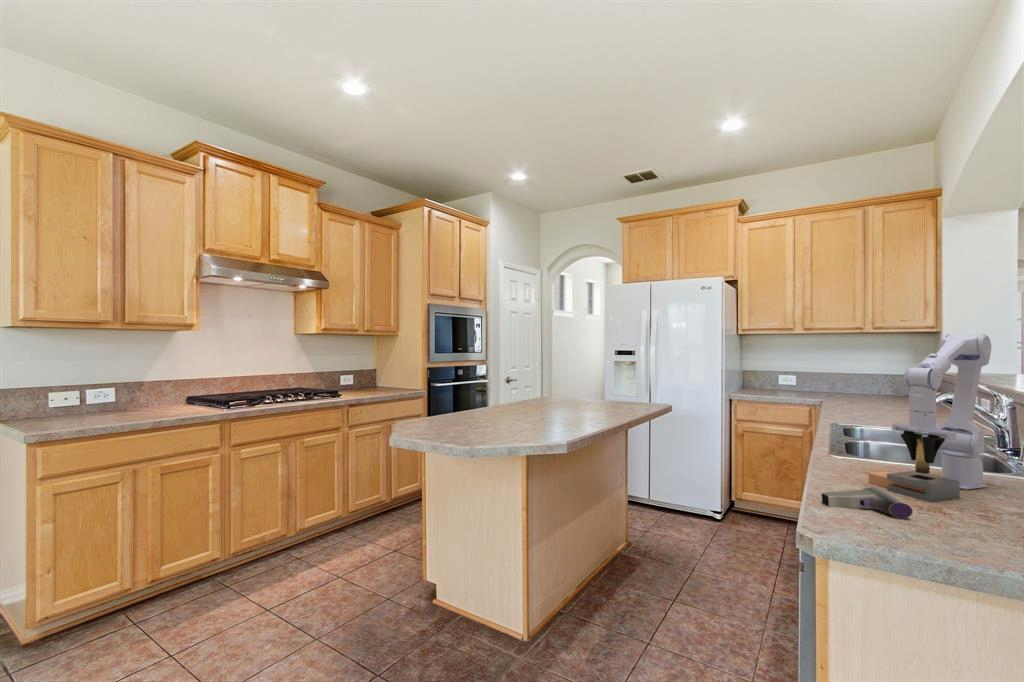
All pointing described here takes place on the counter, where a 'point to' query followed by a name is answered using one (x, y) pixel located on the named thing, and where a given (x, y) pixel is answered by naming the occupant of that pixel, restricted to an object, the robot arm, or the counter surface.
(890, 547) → the counter surface
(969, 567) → the counter surface
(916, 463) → the brass pin
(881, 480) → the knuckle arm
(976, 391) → the robot arm
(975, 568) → the counter surface
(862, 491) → the infrared thermometer
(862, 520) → the counter surface
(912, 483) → the bracket
